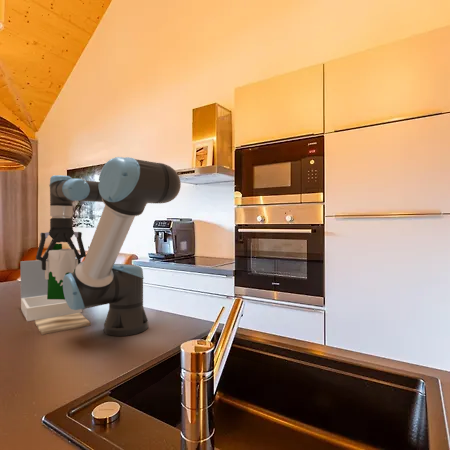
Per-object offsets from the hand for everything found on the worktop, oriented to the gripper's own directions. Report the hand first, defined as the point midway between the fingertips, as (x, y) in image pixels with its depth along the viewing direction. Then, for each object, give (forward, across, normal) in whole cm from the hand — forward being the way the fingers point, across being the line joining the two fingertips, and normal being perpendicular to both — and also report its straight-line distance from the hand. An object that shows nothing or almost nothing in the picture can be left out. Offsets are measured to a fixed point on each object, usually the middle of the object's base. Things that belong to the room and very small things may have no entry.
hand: (61, 277), depth 120 cm
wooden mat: (+18, 0, 0) cm, 18 cm away
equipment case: (+18, 0, -25) cm, 31 cm away
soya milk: (+8, 0, 0) cm, 8 cm away
